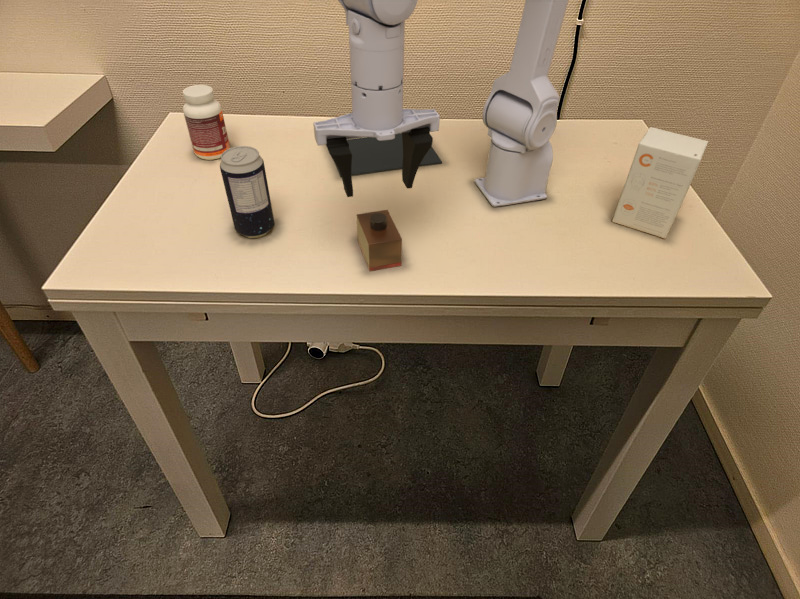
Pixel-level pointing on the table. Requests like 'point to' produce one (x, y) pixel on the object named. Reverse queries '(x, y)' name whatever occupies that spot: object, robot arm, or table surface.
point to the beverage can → (247, 191)
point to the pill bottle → (205, 122)
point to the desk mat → (382, 155)
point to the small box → (658, 181)
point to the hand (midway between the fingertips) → (378, 188)
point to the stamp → (379, 240)
